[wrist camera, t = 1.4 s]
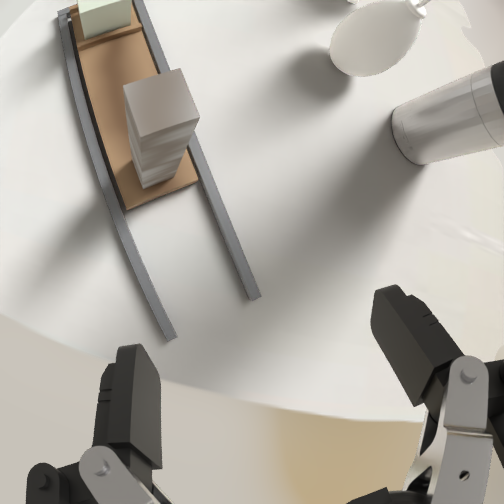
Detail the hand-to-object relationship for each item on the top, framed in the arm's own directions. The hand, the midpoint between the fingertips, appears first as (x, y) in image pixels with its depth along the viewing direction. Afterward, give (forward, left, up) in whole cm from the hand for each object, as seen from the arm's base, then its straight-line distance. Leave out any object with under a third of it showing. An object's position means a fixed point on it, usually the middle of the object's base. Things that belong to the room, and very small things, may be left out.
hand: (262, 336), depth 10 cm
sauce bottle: (-28, -17, -21) cm, 39 cm away
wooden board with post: (-1, -20, -20) cm, 29 cm away
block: (-1, -29, -19) cm, 35 cm away
